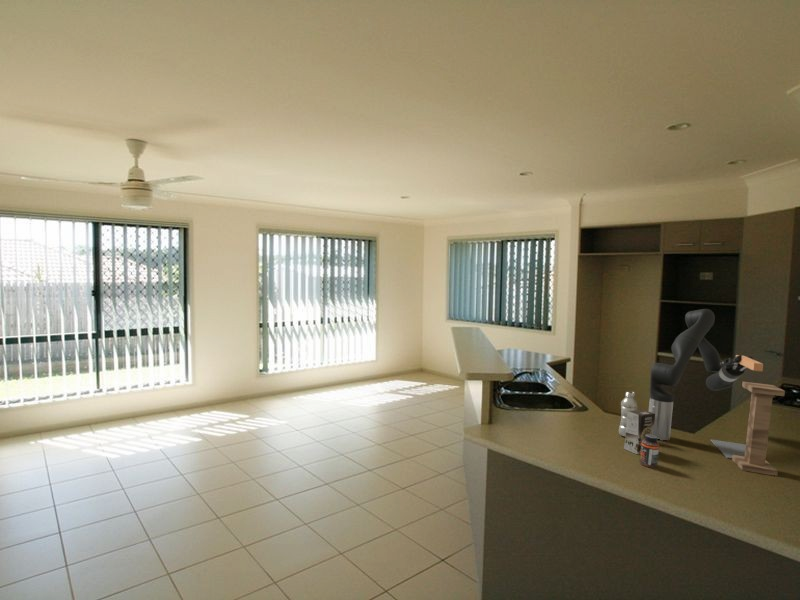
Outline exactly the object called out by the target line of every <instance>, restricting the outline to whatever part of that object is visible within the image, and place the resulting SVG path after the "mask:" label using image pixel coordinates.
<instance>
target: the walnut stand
mask: <svg viewBox="0 0 800 600" xmlns="http://www.w3.org/2000/svg"><path fill="white" fill-rule="evenodd" d="M741 385H742V388H744V389H746V390H747V391H748V392H750V393H751V396H750V404H749V405H750V406H749V415H748V420H747V430H746V432H747V433H746V440H745V441H746V442H745V445H746V448H745V457H744V456H738V455H733V456H732V459H731V460H732V461H733V462H734V464H736V465H737V467H738V468H739V469H741V470H742V471H744V472H750V473H751V472H752V473H757V474H763V475H769V476H774V475H775V476H774V477H778V473H779V471H778V469H776V468H775V467H774V466H773V465H772V464H771V463H770V462H768V461H767V459H766V457H767V452H768V451H767V450H768V441H769V433H770V432H769V431H770V425H771V414H772V408H773V406H772V405H773V398H774V396H778V397H779V396H780V397H785V392H786V390H784V389H782V388H780V387H777V386H776V385H773V384H767V383H758V382H750V381H749V382H748V381H742V384H741Z"/></svg>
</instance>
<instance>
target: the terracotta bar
mask: <svg viewBox="0 0 800 600" xmlns="http://www.w3.org/2000/svg"><path fill="white" fill-rule="evenodd" d="M737 356H739V354H736V355H735V358H736V357H737ZM748 357H749V356H745V355H742V360H741V361H740V362H739V364H741V365H743V366H745V367H747V368H749V369H748V370H751V371H755V372H763V370H764V363H762V362H760V361H757V360H755V359H754V358H753V359H751V358H748Z"/></svg>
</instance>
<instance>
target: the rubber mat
mask: <svg viewBox="0 0 800 600" xmlns="http://www.w3.org/2000/svg"><path fill="white" fill-rule="evenodd" d="M710 441H711V442H712V443H713V444H714V446H715V447H716V448H717V449H718V450H719V451H720V453H721V454H723V456H724V457H725V458H726V459H729V460H732V456H733V455H738V456H744V457H745V448H746V443H745V444H743V443H739V442H738V443H737V442H731V441H723V440H717V439H710Z"/></svg>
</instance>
